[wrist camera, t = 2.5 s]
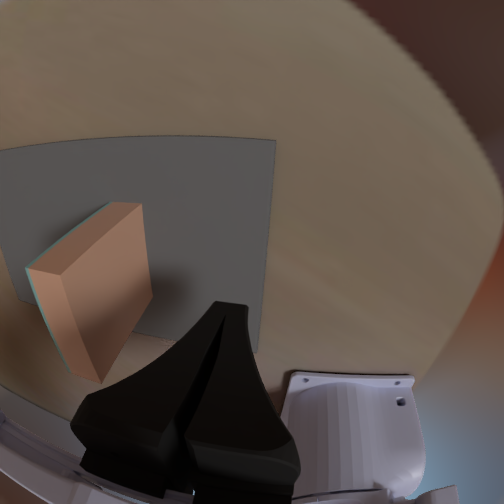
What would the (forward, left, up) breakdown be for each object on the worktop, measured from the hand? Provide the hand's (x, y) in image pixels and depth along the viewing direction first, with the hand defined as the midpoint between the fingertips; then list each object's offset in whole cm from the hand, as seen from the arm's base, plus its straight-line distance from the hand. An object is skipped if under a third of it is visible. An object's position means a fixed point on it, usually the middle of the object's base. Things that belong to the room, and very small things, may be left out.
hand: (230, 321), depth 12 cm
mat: (+9, 0, -5) cm, 11 cm away
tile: (+6, 0, -4) cm, 8 cm away
